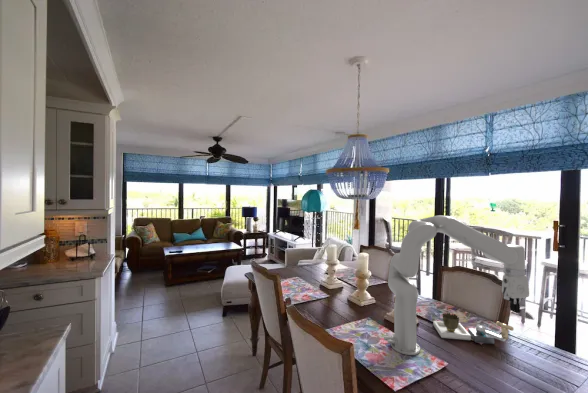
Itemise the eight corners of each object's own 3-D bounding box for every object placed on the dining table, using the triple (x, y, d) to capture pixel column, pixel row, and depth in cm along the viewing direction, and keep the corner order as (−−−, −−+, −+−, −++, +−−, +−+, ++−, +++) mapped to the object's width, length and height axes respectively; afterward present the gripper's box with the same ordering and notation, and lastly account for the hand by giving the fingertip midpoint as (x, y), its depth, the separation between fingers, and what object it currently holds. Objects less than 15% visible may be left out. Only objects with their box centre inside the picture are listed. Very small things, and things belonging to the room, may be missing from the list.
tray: (441, 337, 132) (441, 332, 132) (433, 325, 144) (433, 320, 144) (470, 340, 129) (470, 335, 129) (459, 327, 142) (459, 322, 142)
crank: (474, 330, 131) (474, 314, 131) (478, 328, 133) (478, 313, 133) (511, 345, 118) (511, 328, 118) (515, 343, 120) (515, 326, 120)
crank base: (475, 342, 127) (475, 335, 127) (468, 333, 135) (468, 327, 135) (494, 344, 126) (494, 337, 126) (485, 335, 133) (485, 329, 133)
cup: (461, 335, 132) (461, 319, 132) (445, 334, 134) (445, 318, 134) (455, 328, 140) (455, 313, 140) (440, 327, 141) (440, 312, 141)
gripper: (508, 275, 118) (508, 316, 118) (536, 273, 120) (537, 313, 120) (493, 270, 125) (493, 309, 125) (520, 268, 127) (520, 307, 127)
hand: (515, 311), depth 122 cm, fingers closed
